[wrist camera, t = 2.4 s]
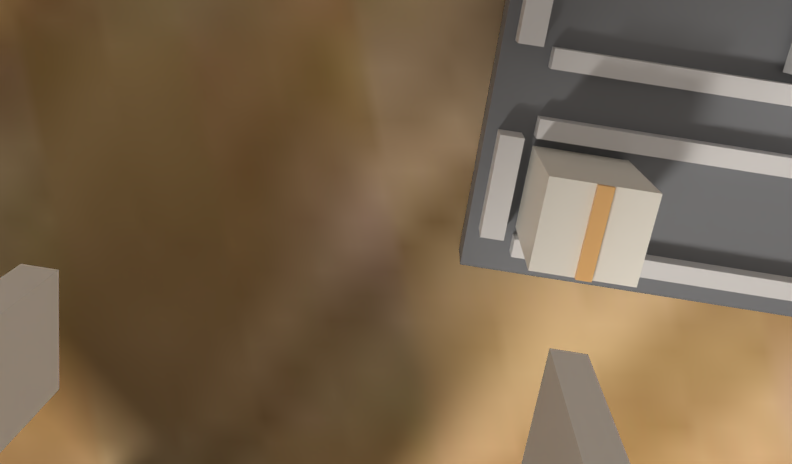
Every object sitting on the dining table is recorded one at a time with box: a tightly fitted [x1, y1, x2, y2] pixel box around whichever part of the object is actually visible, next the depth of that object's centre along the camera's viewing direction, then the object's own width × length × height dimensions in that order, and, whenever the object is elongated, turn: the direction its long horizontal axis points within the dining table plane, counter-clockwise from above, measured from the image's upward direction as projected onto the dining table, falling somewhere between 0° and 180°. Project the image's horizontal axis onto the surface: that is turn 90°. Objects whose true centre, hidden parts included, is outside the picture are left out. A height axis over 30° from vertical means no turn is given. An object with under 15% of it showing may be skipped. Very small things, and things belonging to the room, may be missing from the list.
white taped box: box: [515, 146, 663, 288], centre depth 29 cm, size 4×4×5 cm
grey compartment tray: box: [459, 0, 792, 317], centre depth 31 cm, size 20×16×3 cm
